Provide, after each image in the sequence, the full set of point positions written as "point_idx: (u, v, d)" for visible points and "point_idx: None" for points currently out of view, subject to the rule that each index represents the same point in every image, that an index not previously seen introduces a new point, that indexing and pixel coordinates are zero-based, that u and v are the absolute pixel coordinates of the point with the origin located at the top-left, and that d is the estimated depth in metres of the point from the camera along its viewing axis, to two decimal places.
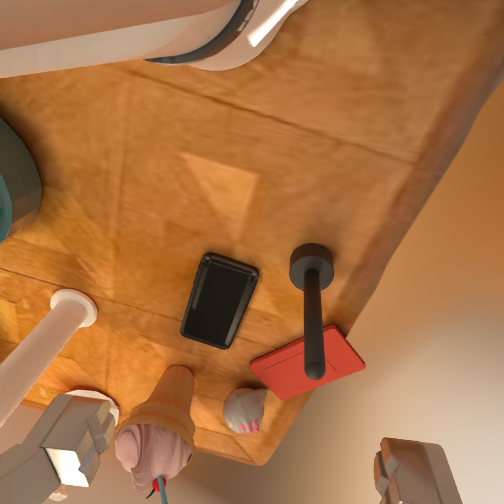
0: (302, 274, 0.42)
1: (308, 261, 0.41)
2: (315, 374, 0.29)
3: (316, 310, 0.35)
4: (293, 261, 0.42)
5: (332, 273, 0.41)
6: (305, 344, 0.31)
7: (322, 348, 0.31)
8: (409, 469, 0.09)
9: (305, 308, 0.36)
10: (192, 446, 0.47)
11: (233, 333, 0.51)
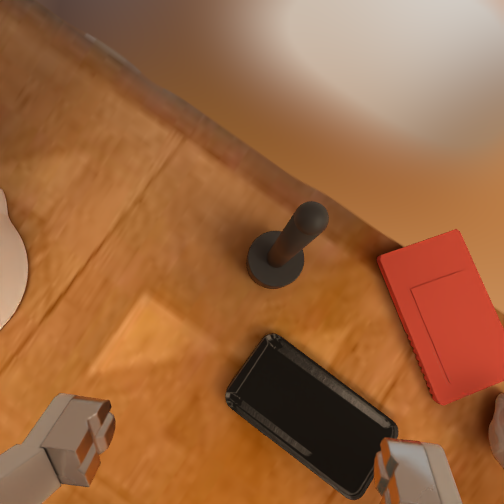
0: (273, 269, 0.32)
1: (255, 257, 0.32)
2: (309, 213, 0.18)
3: None
4: (254, 276, 0.32)
5: (280, 232, 0.33)
6: (291, 238, 0.20)
7: None
8: (409, 469, 0.09)
9: (279, 252, 0.25)
10: None
11: (367, 406, 0.32)
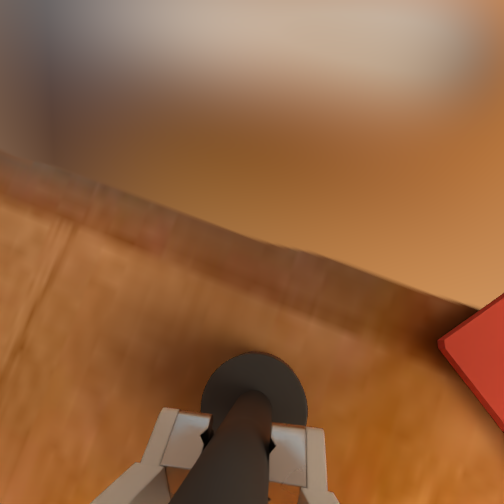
0: None
1: (215, 416, 0.17)
2: None
3: None
4: None
5: (249, 356, 0.18)
6: None
7: None
8: (284, 451, 0.09)
9: None
10: None
11: None
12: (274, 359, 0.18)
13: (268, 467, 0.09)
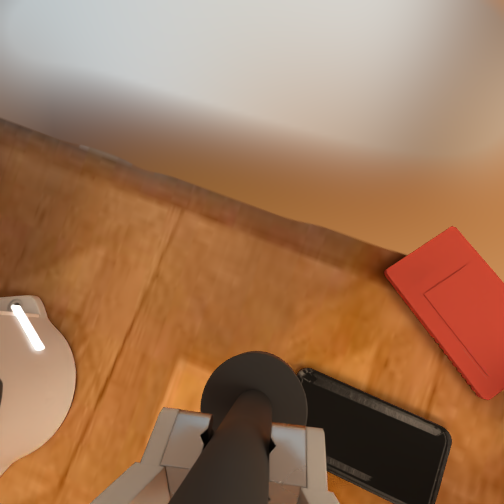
0: None
1: (215, 416, 0.17)
2: None
3: None
4: None
5: (249, 356, 0.18)
6: None
7: None
8: (285, 451, 0.09)
9: None
10: None
11: (413, 417, 0.33)
12: (274, 358, 0.18)
13: (268, 466, 0.09)
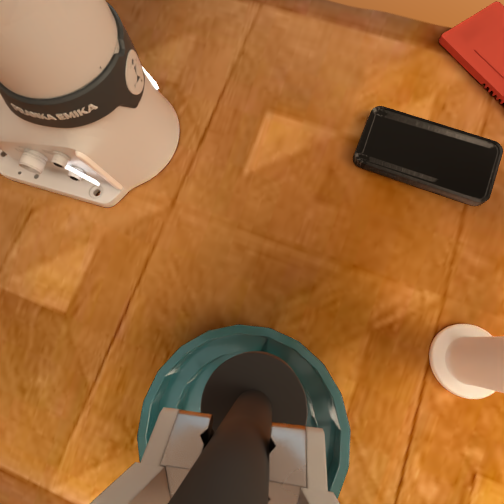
0: None
1: (215, 415, 0.17)
2: None
3: None
4: None
5: (249, 356, 0.18)
6: None
7: None
8: (284, 451, 0.09)
9: None
10: None
11: (470, 136, 0.40)
12: (274, 358, 0.18)
13: (268, 466, 0.09)
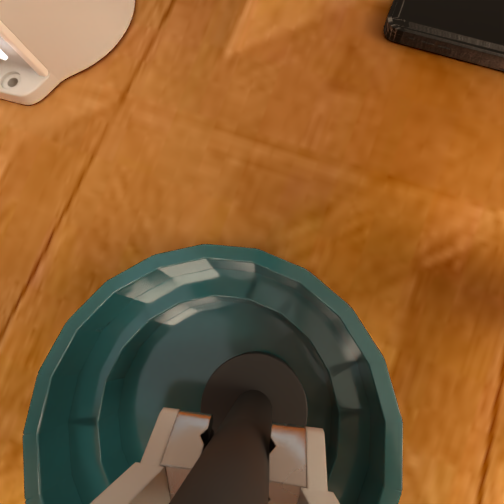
0: None
1: (215, 416, 0.17)
2: None
3: None
4: None
5: (249, 356, 0.18)
6: None
7: None
8: (285, 451, 0.09)
9: None
10: None
11: None
12: (274, 359, 0.17)
13: (268, 467, 0.09)
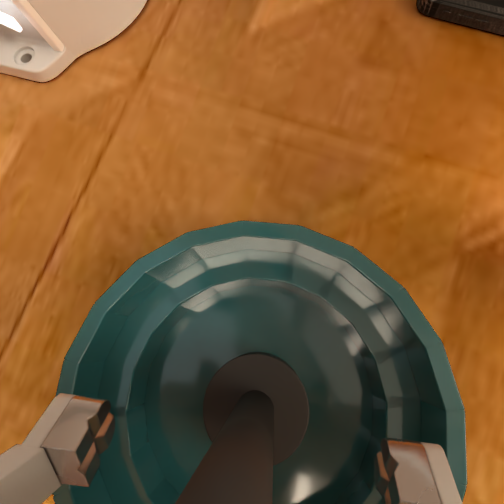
0: None
1: (217, 416, 0.17)
2: None
3: None
4: None
5: (251, 357, 0.18)
6: None
7: None
8: (409, 469, 0.09)
9: None
10: None
11: None
12: (276, 359, 0.18)
13: (272, 467, 0.09)
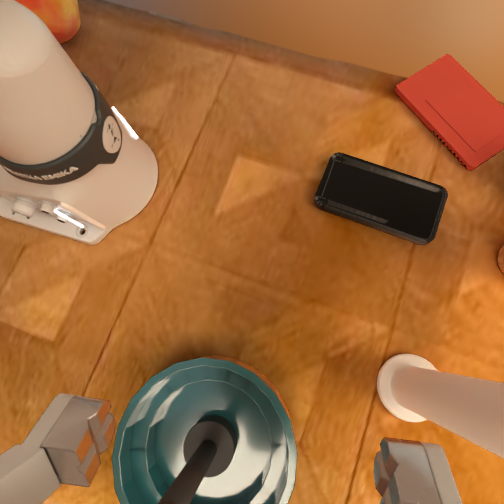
0: None
1: (190, 452, 0.36)
2: None
3: None
4: None
5: (207, 422, 0.36)
6: None
7: (167, 490, 0.24)
8: (409, 469, 0.09)
9: None
10: None
11: (419, 181, 0.44)
12: (219, 424, 0.36)
13: (199, 479, 0.27)
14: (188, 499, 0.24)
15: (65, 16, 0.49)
